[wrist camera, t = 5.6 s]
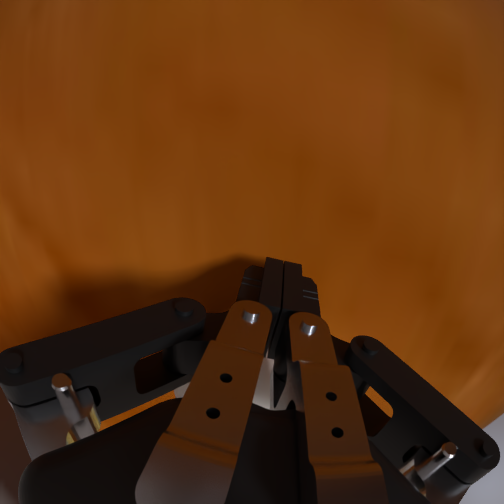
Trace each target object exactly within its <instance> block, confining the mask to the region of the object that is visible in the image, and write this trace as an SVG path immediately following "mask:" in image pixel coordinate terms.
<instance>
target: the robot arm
mask: <svg viewBox="0 0 504 504" xmlns="http://www.w3.org/2000/svg"><path fill="white" fill-rule="evenodd" d="M317 293H318V292H317V285H316V284H315V283H314V281H313V280H312V279H311V278H308V277H303V276H302V265H301V264H297V263H292V262H288V261H284V264H283V260H278V259H274V258H269V257H267V258H266V262H265V266H264V268H262V267H257V266H253V265H252V266H250V267H249V268H248V269H246V270H245V273H244V276H243V280H242V283H241V287H240V290H239V293H238V297H237V300H236V303H234V304H233V305H232V306H231V308H230V310H229V311H226V312H223V313H206V310H205V308H204V306H203V305H202V304H200V303H199V302H197V301H195V300H193V299H189V298H174V299H170V300H167V301H164V302H161V303H158V304H155V305H151V306H148V307H145V308H142V309H139V310H136V311H132V312H129V313H126V314H123V315H119V316H116V317H113V318H110V319H106V320H103V321H100V322H97V323H93V324H90V325H87V326H83V327H80V328H77V329H73V330H70V331H67V332H63V333H60V334H57V335H53V336H50V337H46V338H43V339H39V340H36V341H33V342H29V343H26V344H22V345H19V346H15V347H12V348H9V349H6V350H4V351H3V352H1V353H0V386H1V388H2V390H3V391H4V394H5V397H6V398H7V400H8V402H9V403H10V405H11V406H12V407H13V409H14V412H15V415H16V418H17V421H18V424H19V427H20V430H21V433H22V436H23V439H24V442H25V444H26V446H27V450H28V452H29V454H30V457H31V459H32V462H31V463H30V464H29V465H28V466H27V467H26V469H25V470H24V472H23V474H22V476H21V479H20V482H19V490H18V496H19V504H459V502H460V501H461V499H462V498H463V496H464V495H465V493H466V492H467V490H468V488H469V487H470V485H472V484H473V483H475V482H476V481H478V480H479V479H480V478H482V477H483V476H484V475H486V474H487V473H488V472H490V471H491V470H492V469H493V468H495V467H496V466H497V464H498V463H499V460H500V451H499V448H498V445H497V444H496V442H495V441H494V440H493V439H492V438H491V437H490V436H489V435H488V434H487V433H486V432H484V431H483V430H482V429H481V428H480V427H479V426H478V425H476V424H475V423H474V422H473V421H472V420H471V419H470V418H468V417H467V416H466V415H465V414H464V413H463V412H462V411H460V410H459V409H458V408H457V407H456V406H455V405H453V404H452V403H451V402H450V401H449V400H448V399H447V398H445V397H444V396H443V395H442V394H441V393H440V392H438V391H437V390H436V389H435V388H434V387H433V386H431V385H430V384H429V383H428V382H427V381H426V380H424V379H423V378H422V377H421V376H420V375H419V374H417V373H416V372H415V371H414V370H413V369H412V368H410V367H409V366H408V365H407V364H406V363H405V362H403V361H402V360H401V359H400V358H399V357H397V356H396V355H395V354H394V353H393V352H392V351H390V350H389V349H388V348H387V347H386V346H384V345H383V344H382V343H381V342H380V341H378V340H376V339H374V338H372V337H369V336H356V337H354V338H353V339H352V340H351V342H350V343H348V342H345V341H343V340H340V339H338V338H336V337H334V336H332V335H331V334H330V330H329V327H328V324H327V323H326V322H325V321H324V320H323V319H322V318H321V315H320V307H319V300H318V294H317ZM161 350H162V351H161ZM158 351H161V352H159V353H156V352H158ZM267 351H268V355H267V358H269V359H274V365H273V368H272V371H271V374H270V410H269V409H266V408H264V407H261V406H259V405H256V404H254V403H252V401H253V397H254V393H255V389H256V385H257V381H258V378H259V374H260V370H261V366H262V362H263V358H265V357H266V354H267ZM153 353H156V354H154V355H151V356H149V357H146V358H143V357H145V356H148V355H150V354H153ZM141 358H143V359H141ZM140 359H141V360H140ZM189 382H190V384H189V386H188V388H187V390H186V392H185V394H184V396H183V397H181V398H174V399H170V400H166V401H164V402H161V403H158V404H156V405H154V406H152V407H150V408H148V409H146V410H144V411H142V412H140V413H138V414H136V415H134V416H132V417H130V418H128V419H126V420H123V421H121V422H119V423H117V424H115V425H113V426H110V427H108V428H106V429H104V430H101V431H99V428H100V424H101V421H104V420H106V419H109V418H111V417H114V416H116V415H118V414H121V413H123V412H126V411H128V410H130V409H133V408H135V407H137V406H139V405H142V404H144V403H146V402H148V401H151V400H153V399H155V398H157V397H159V396H162V395H164V394H166V393H168V392H170V391H172V390H174V389H176V388H178V387H181V386H183V385H185V384H187V383H189ZM370 386H371V387H372V388H373V389H374V390H375V391H376V392H377V393H378V394H379V395H381V396H382V397H383V398H384V399H385V400H386V401H387V402H388V403H389V404H390V405H391V406H392V408H393V416H392V418H391V417H389V416H388V415H386V414H385V413H384V412H383V411H382V410H381V409H380V408H379V407H378V406H377V405H376V404H375V403H374V402H373V401H372V400H371V399H370V398H369V397H368V396H367V395H366V394H365V392H366V391H367V390H368V388H369V387H370ZM98 431H99V432H98Z"/></svg>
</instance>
